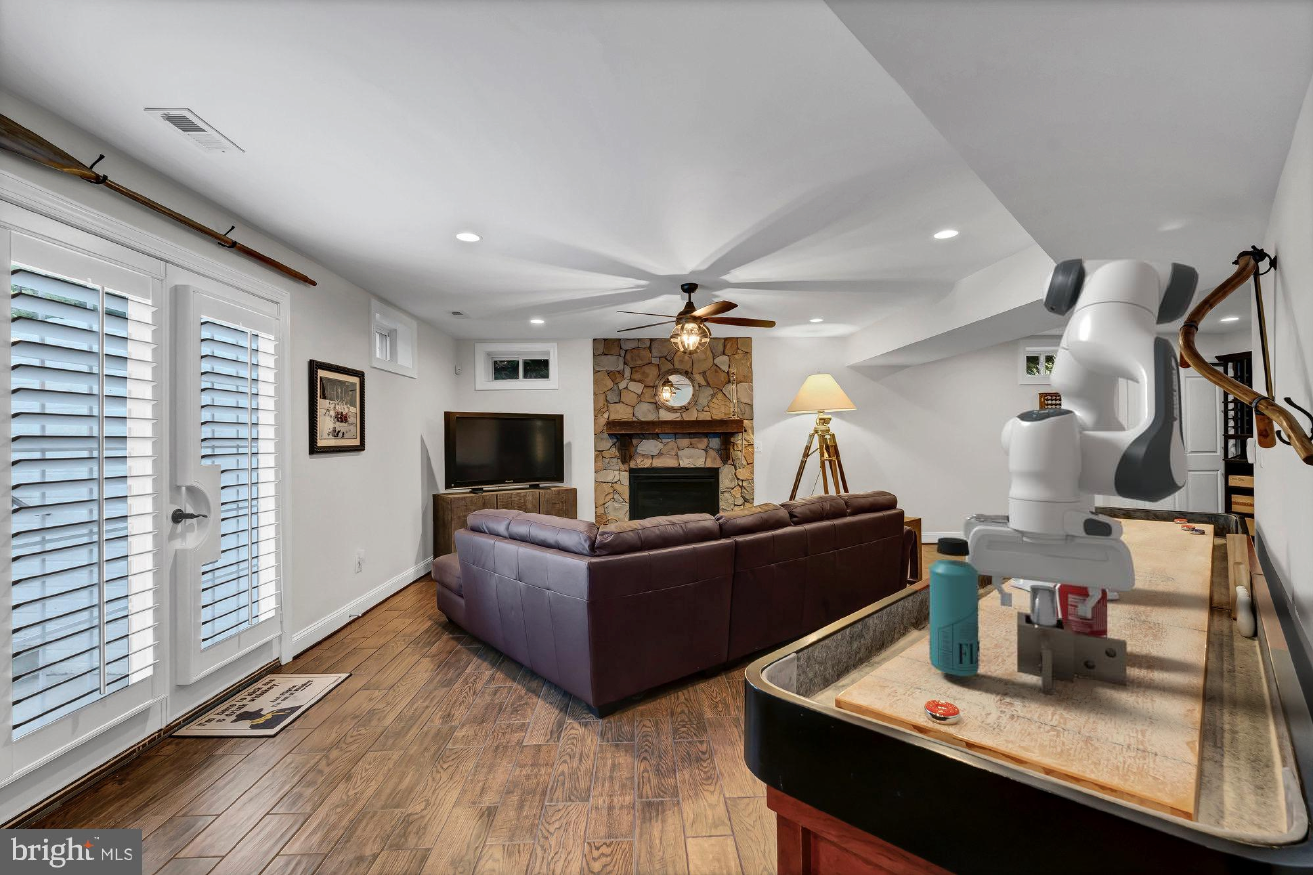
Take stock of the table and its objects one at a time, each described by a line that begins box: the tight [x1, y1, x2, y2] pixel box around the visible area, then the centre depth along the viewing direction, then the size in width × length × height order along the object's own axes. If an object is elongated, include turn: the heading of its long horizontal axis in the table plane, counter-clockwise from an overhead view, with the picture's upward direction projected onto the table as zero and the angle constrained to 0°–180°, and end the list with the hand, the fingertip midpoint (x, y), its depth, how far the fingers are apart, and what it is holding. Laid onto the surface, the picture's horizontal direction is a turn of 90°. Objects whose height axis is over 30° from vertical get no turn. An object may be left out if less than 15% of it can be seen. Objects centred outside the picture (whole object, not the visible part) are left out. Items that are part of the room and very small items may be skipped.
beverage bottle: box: [928, 536, 981, 677], centre depth 78 cm, size 6×7×20 cm
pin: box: [1029, 585, 1057, 628], centre depth 81 cm, size 3×3×12 cm
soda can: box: [1053, 583, 1108, 637], centre depth 86 cm, size 7×7×12 cm
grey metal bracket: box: [1016, 611, 1128, 696], centre depth 76 cm, size 13×13×7 cm
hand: (1043, 610), depth 80 cm, fingers open, 8 cm apart
